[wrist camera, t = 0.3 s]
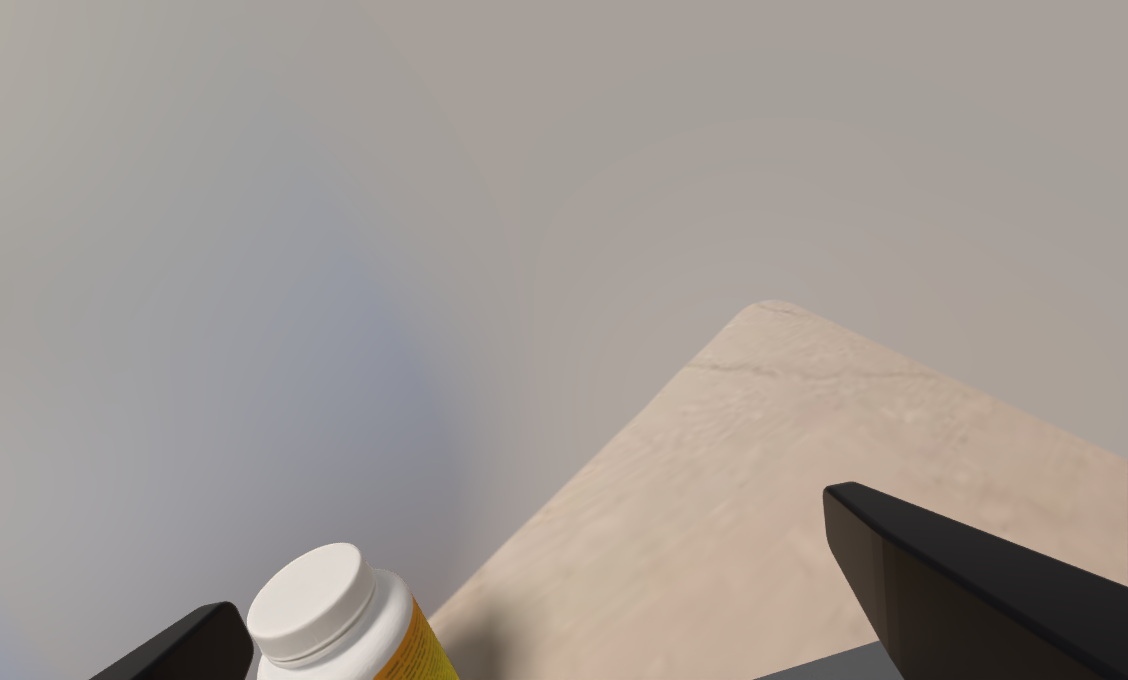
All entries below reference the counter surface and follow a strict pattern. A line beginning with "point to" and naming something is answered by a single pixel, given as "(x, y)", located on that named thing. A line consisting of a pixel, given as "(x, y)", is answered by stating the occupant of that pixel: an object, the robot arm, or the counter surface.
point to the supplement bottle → (343, 623)
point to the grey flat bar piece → (845, 666)
